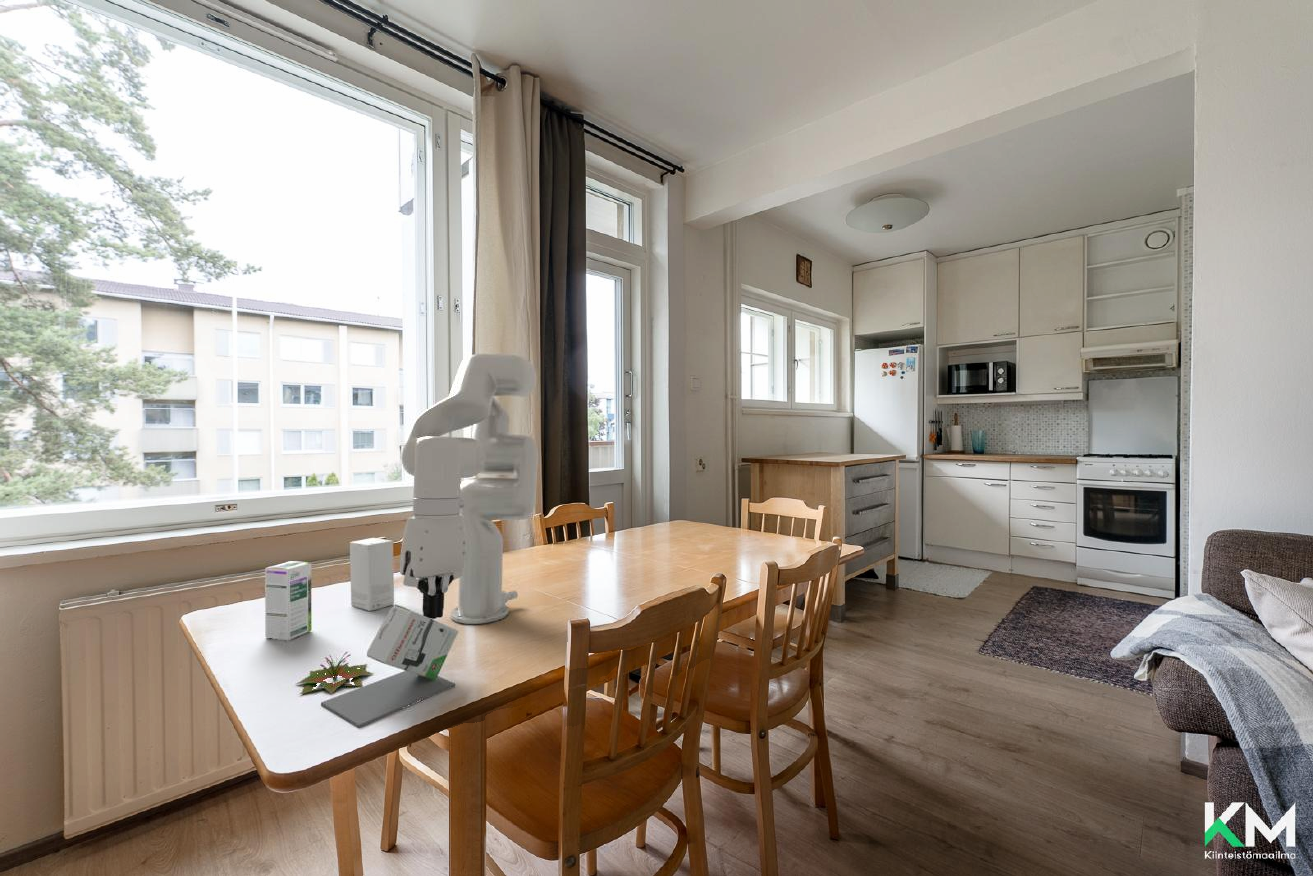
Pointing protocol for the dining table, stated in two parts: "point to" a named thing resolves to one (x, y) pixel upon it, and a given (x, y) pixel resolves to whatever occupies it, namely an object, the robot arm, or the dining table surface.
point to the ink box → (412, 642)
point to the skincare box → (372, 573)
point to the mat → (384, 697)
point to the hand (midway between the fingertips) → (432, 616)
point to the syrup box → (288, 600)
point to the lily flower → (334, 671)
